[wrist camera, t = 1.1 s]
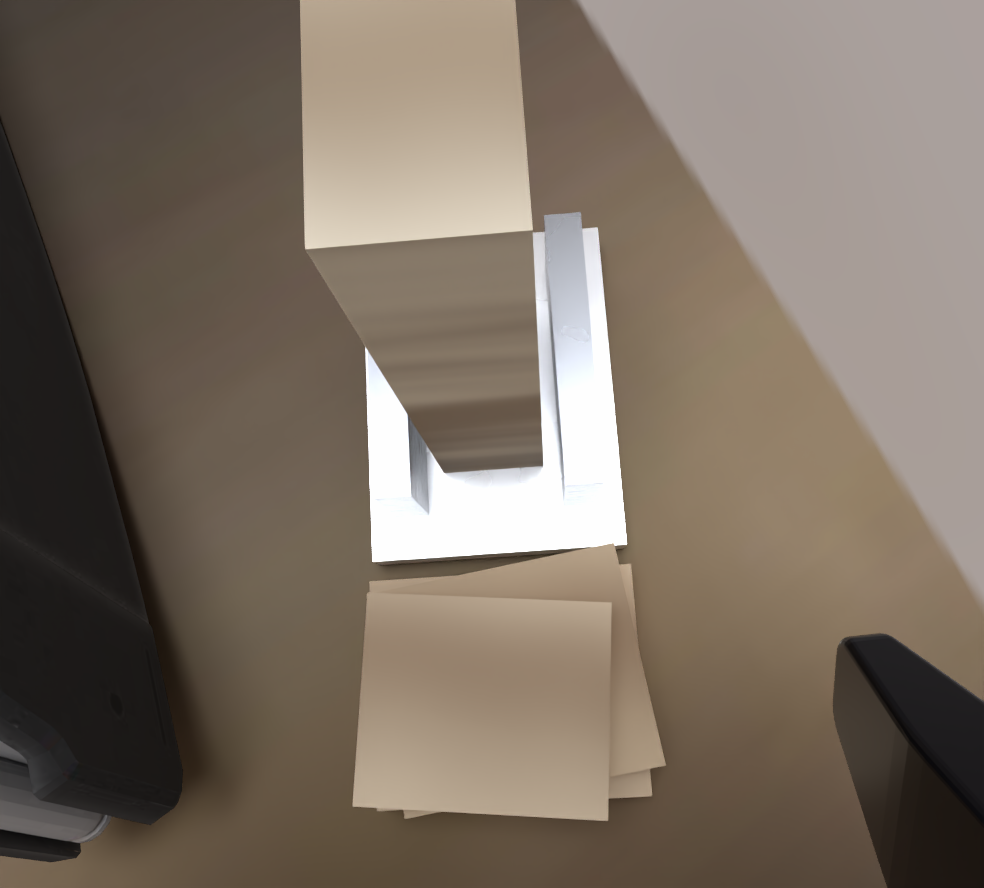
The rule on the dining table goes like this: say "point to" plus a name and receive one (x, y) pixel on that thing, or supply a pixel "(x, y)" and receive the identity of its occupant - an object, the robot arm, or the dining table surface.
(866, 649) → the robot arm
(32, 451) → the black curved panel
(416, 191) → the beige rectangular block
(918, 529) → the dining table surface
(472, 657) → the offcut stack
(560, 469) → the rack
